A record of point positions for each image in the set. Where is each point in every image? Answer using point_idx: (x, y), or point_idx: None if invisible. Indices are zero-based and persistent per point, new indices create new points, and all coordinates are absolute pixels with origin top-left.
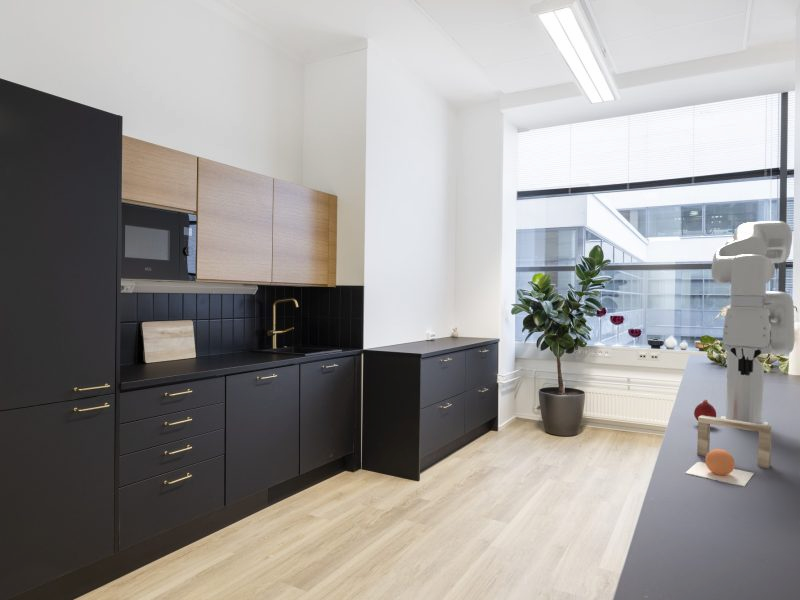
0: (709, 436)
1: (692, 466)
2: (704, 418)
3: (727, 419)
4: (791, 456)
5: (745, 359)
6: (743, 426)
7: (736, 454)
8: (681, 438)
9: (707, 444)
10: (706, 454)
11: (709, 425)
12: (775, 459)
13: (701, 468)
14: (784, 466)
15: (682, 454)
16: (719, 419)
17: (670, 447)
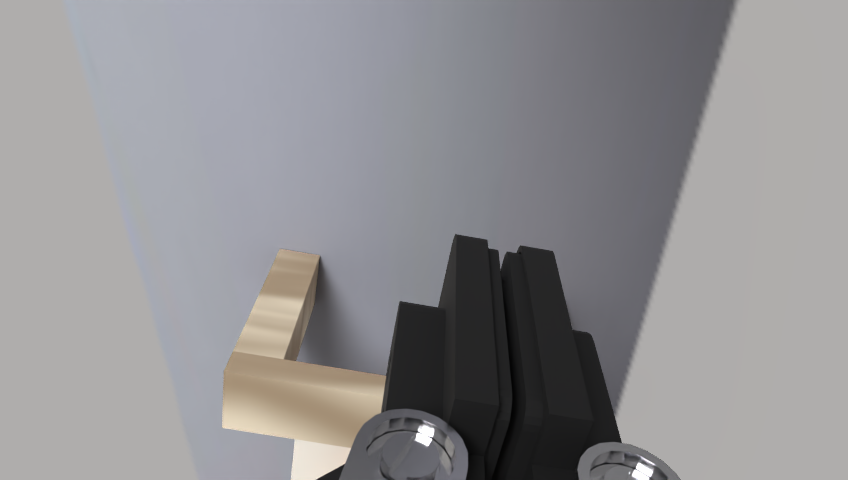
0: (301, 310)
1: (292, 465)
2: (256, 431)
3: (371, 401)
4: (711, 56)
5: (489, 470)
6: None
7: (434, 192)
8: (130, 4)
9: (305, 322)
10: (313, 306)
11: (287, 356)
12: (608, 176)
13: (322, 471)
14: (622, 275)
15: (225, 328)
16: (331, 423)
17: (149, 246)
